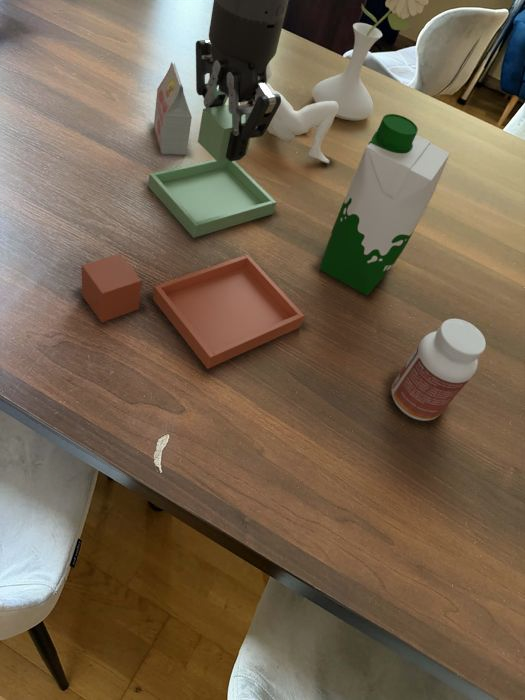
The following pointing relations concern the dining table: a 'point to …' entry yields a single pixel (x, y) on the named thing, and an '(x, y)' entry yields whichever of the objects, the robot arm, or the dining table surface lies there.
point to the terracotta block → (111, 287)
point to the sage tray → (211, 195)
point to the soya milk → (383, 204)
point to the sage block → (217, 131)
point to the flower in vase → (348, 83)
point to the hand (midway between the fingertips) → (222, 146)
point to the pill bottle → (438, 369)
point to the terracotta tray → (227, 309)
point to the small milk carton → (172, 115)
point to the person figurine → (301, 120)
